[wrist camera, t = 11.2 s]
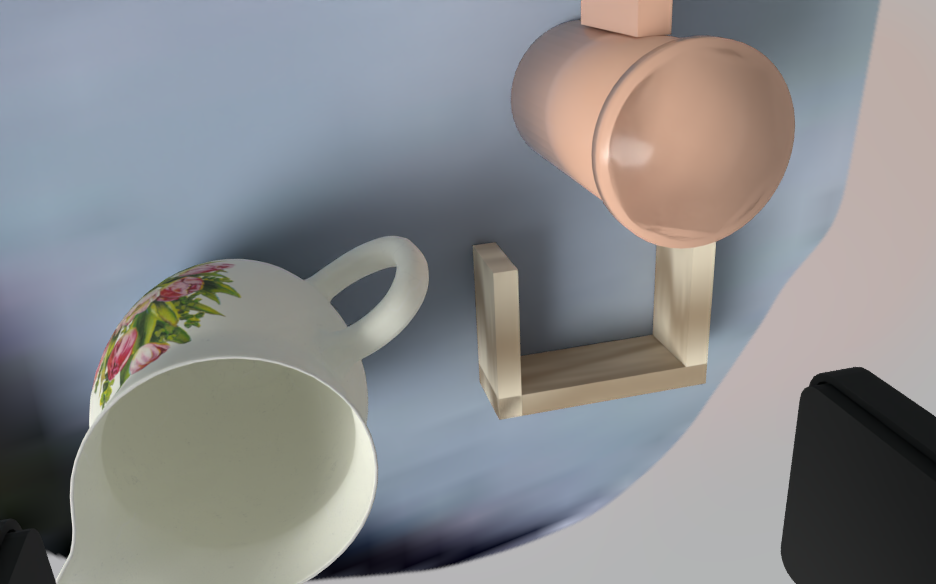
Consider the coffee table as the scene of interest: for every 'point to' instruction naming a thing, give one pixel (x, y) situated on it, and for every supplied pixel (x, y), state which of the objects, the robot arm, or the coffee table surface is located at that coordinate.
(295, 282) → the pitcher
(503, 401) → the holder
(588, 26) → the peach cylinder
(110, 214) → the coffee table surface
